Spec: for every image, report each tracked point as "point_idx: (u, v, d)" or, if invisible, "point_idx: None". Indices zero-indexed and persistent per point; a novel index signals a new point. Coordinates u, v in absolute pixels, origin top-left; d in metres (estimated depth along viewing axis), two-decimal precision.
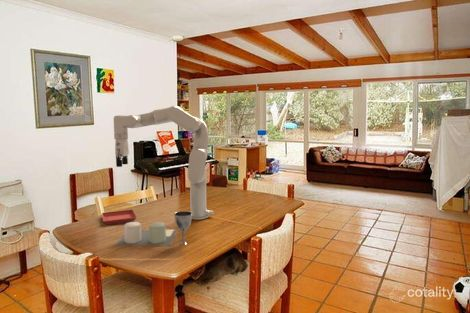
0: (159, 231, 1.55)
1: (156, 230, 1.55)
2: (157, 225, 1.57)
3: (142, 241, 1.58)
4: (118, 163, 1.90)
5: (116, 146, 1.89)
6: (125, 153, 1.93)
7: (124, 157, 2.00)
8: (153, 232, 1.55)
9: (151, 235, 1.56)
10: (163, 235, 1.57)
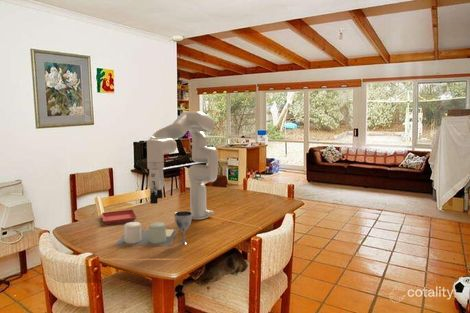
0: (159, 231, 1.55)
1: (156, 230, 1.55)
2: (157, 225, 1.57)
3: (142, 241, 1.58)
4: (153, 199, 1.51)
5: (150, 178, 1.51)
6: (161, 186, 1.54)
7: (158, 190, 1.61)
8: (153, 232, 1.55)
9: (151, 235, 1.56)
10: (163, 235, 1.57)
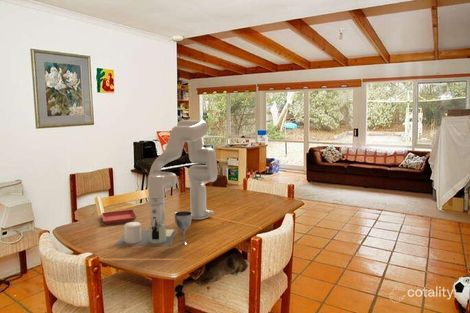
0: (159, 231, 1.55)
1: None
2: None
3: (142, 241, 1.58)
4: (154, 235, 1.54)
5: (152, 214, 1.53)
6: (162, 221, 1.57)
7: None
8: None
9: (151, 235, 1.56)
10: (163, 235, 1.57)
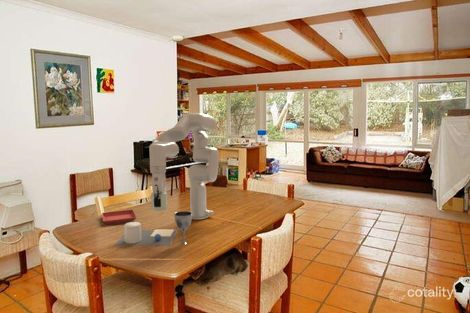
0: (161, 199, 1.58)
1: None
2: None
3: (142, 241, 1.58)
4: (156, 203, 1.57)
5: (153, 182, 1.56)
6: (163, 189, 1.59)
7: None
8: None
9: (153, 203, 1.59)
10: (165, 203, 1.60)
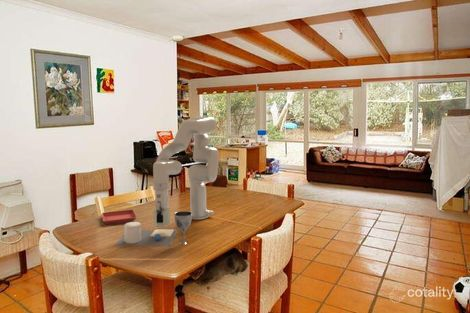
0: (163, 215, 1.64)
1: None
2: None
3: (142, 241, 1.58)
4: (159, 219, 1.63)
5: (156, 198, 1.62)
6: (166, 205, 1.66)
7: None
8: None
9: (155, 219, 1.65)
10: (167, 219, 1.66)
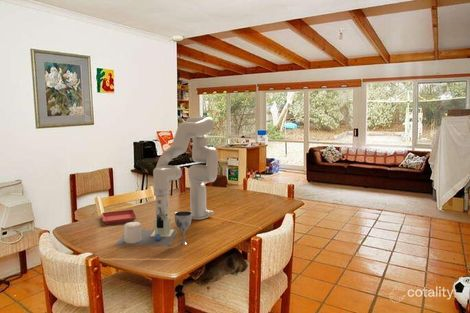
0: (164, 224, 1.65)
1: None
2: None
3: (142, 241, 1.58)
4: (159, 224, 1.63)
5: (157, 204, 1.63)
6: (166, 211, 1.66)
7: None
8: None
9: (156, 227, 1.66)
10: (168, 227, 1.67)
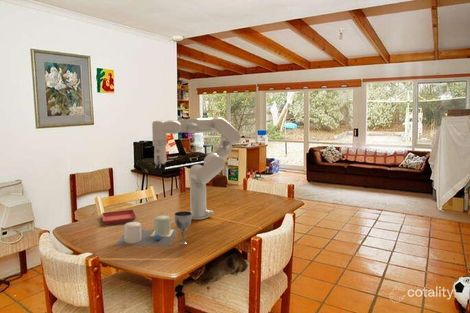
0: (164, 224, 1.65)
1: (161, 223, 1.65)
2: (162, 218, 1.67)
3: (142, 241, 1.58)
4: (157, 171, 1.80)
5: (155, 153, 1.80)
6: (164, 160, 1.83)
7: (162, 164, 1.90)
8: (158, 225, 1.65)
9: (156, 227, 1.66)
10: (168, 227, 1.67)
